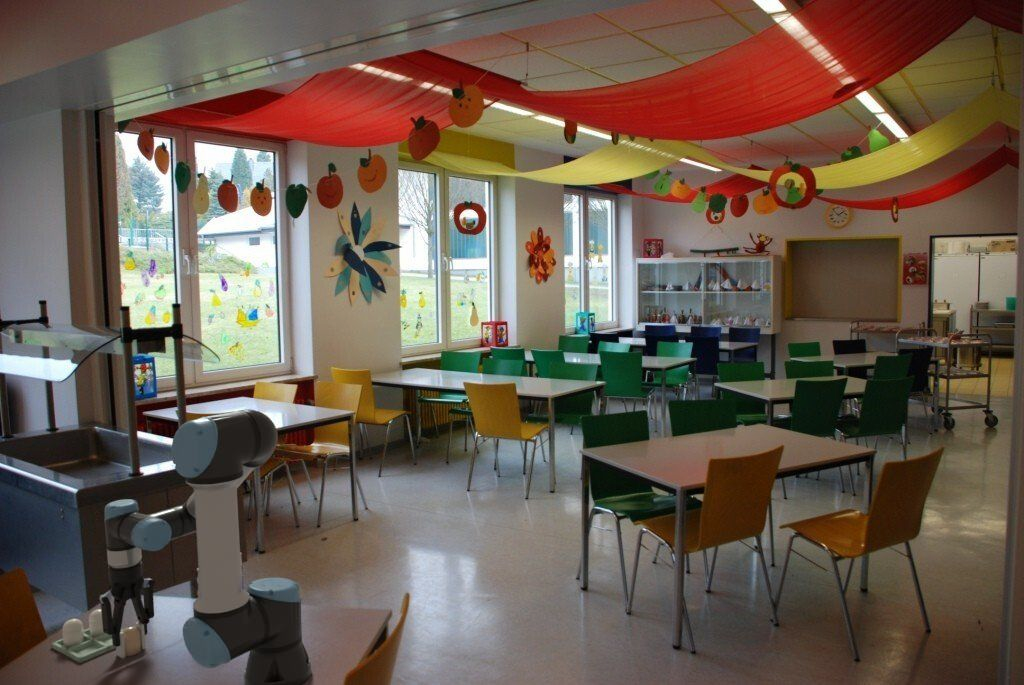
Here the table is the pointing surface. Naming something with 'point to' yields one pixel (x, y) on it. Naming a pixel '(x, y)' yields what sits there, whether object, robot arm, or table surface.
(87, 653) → the egg tray
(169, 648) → the table surface
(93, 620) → the cream egg
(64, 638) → the cream egg
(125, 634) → the brown egg
